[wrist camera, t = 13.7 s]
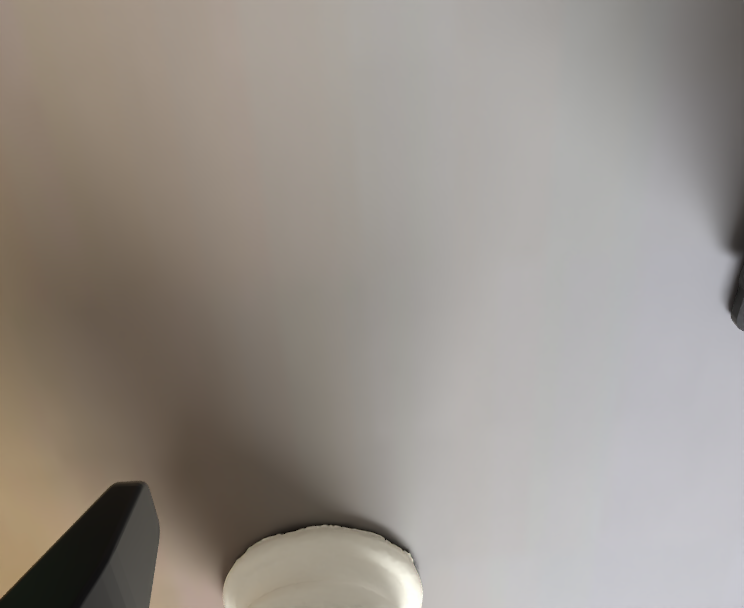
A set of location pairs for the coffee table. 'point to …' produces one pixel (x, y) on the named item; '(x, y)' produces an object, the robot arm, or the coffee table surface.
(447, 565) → the coffee table surface
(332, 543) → the cherub figurine
